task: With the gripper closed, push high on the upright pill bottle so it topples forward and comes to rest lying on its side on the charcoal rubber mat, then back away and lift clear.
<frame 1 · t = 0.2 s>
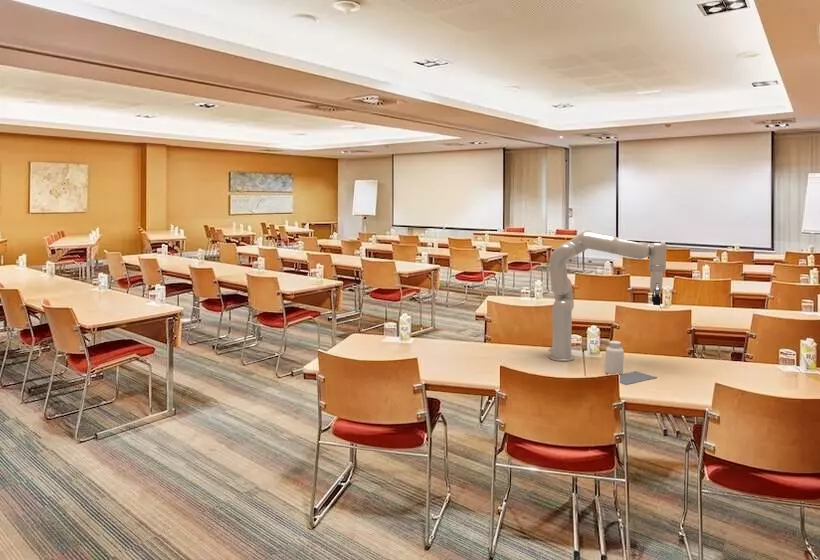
hand: (656, 303, 286), 31 cm above the table, tool pointing down, fingers open, 9 cm apart
mat: (631, 378, 269), on the table
pill bottle: (614, 373, 278), on the table
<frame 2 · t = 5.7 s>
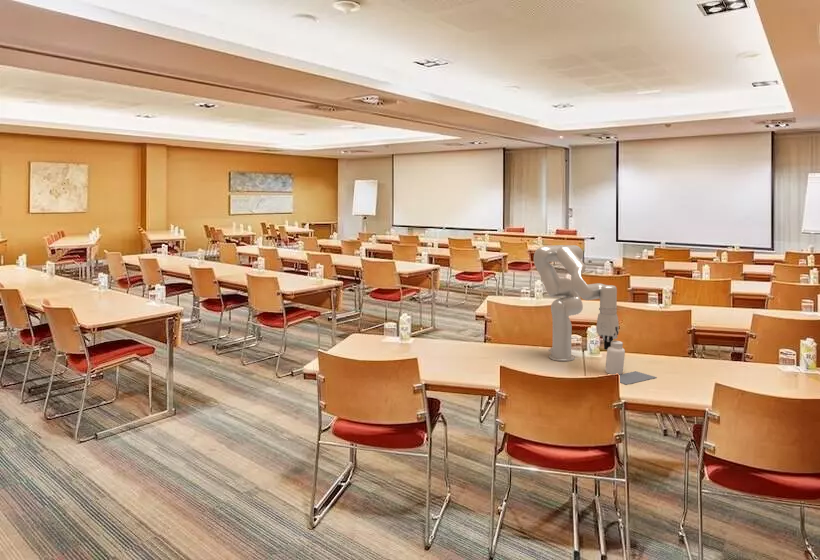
hand: (607, 349, 280), 11 cm above the table, tool pointing down, fingers closed
pill bottle: (614, 372, 278), on the table, touching gripper
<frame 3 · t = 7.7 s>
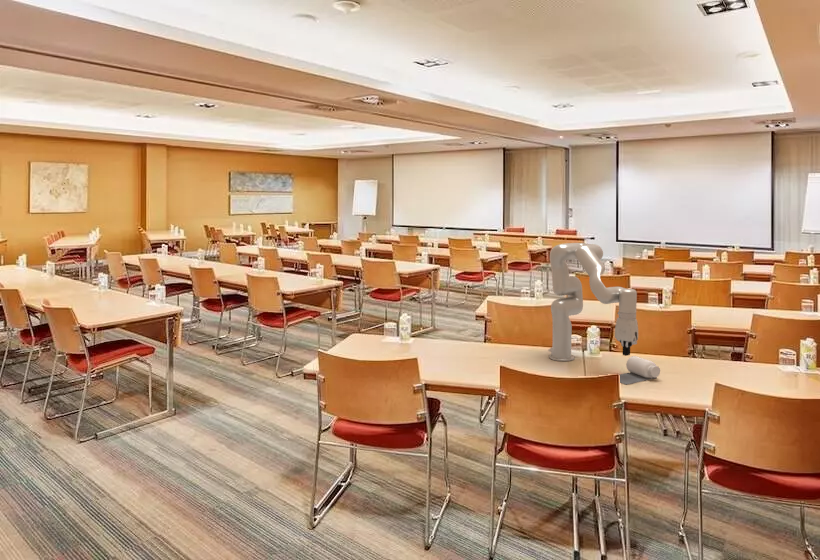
hand: (626, 354, 271), 10 cm above the table, tool pointing down, fingers closed
pill bottle: (632, 363, 277), point 4 cm above the table, touching mat
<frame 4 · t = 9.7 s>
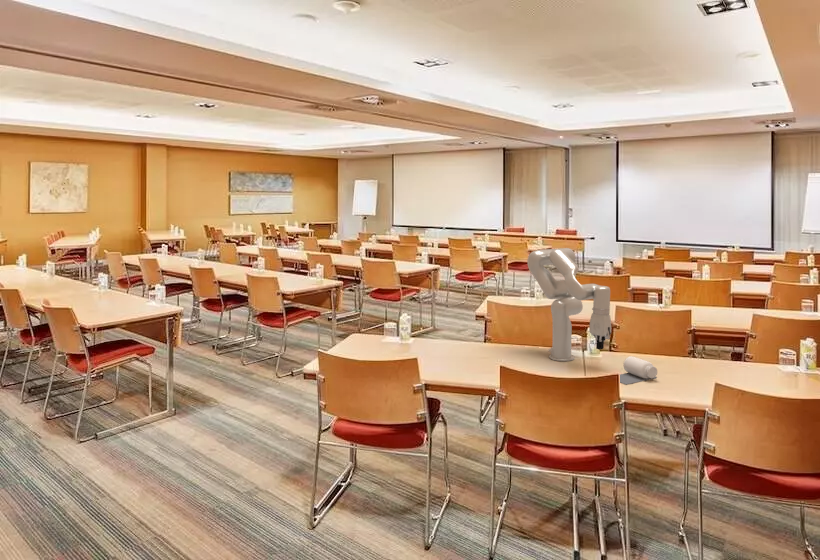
hand: (599, 348, 284), 10 cm above the table, tool pointing down, fingers closed
pill bottle: (629, 364, 277), point 4 cm above the table, touching mat
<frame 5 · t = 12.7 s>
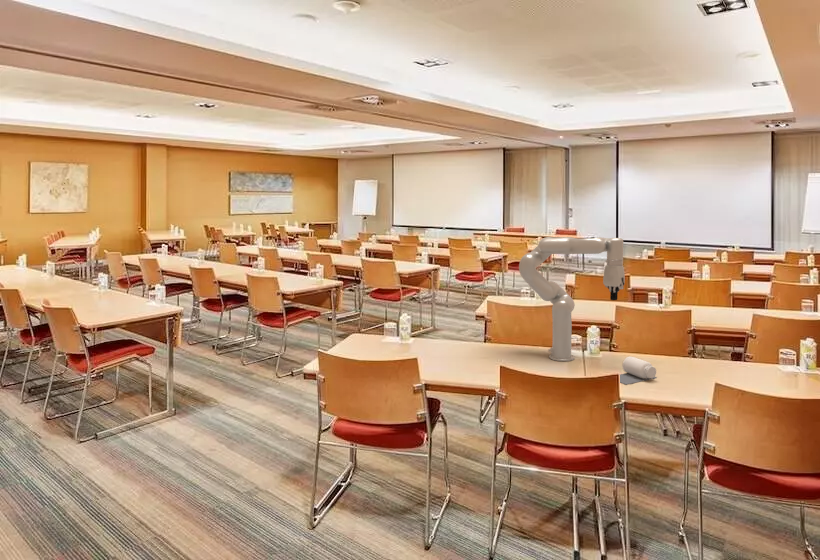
hand: (613, 299, 291), 32 cm above the table, tool pointing down, fingers closed
at the end: pill bottle tilted 90°; pill bottle touching mat; pill bottle 8.2 cm from the mat (horizontally) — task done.
